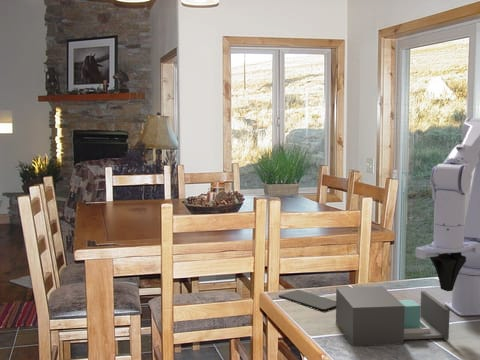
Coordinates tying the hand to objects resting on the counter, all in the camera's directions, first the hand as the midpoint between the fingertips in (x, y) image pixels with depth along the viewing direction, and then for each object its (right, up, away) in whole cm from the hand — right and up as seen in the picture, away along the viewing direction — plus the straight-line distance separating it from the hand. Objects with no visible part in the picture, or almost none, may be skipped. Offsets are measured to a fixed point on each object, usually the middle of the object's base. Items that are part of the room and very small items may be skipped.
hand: (446, 289), depth 118 cm
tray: (-7, -8, 0) cm, 11 cm away
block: (-8, -8, 0) cm, 11 cm away
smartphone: (-25, -7, +20) cm, 33 cm away
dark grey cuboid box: (-16, -9, 0) cm, 18 cm away
